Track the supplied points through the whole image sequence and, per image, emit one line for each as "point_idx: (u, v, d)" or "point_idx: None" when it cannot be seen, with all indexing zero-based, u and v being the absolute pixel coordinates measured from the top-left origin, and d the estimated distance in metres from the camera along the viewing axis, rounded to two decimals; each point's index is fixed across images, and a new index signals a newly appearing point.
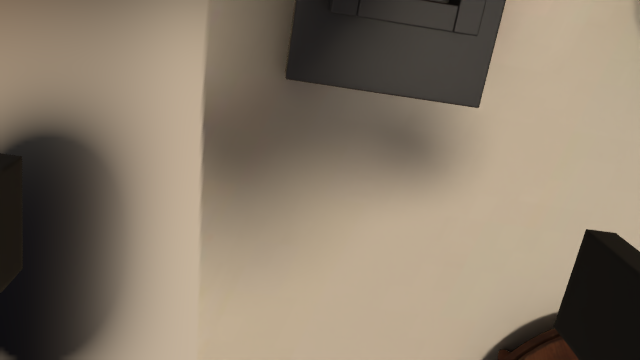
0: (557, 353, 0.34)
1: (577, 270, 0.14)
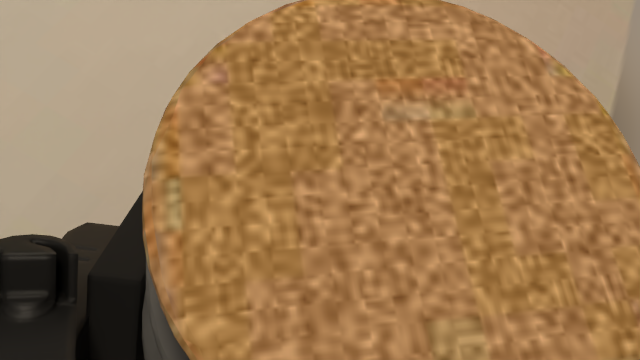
0: None
1: None
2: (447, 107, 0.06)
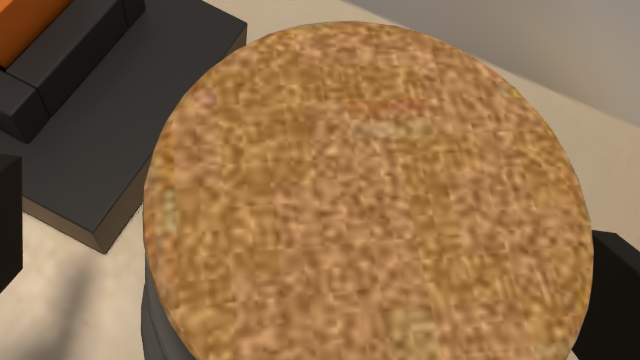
0: None
1: None
2: (408, 125, 0.06)
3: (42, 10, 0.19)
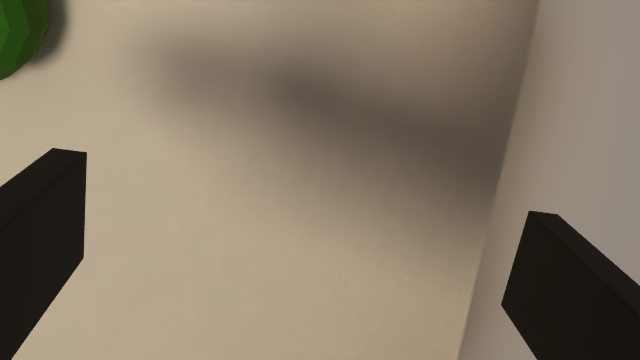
0: None
1: (521, 250, 0.15)
2: None
3: None
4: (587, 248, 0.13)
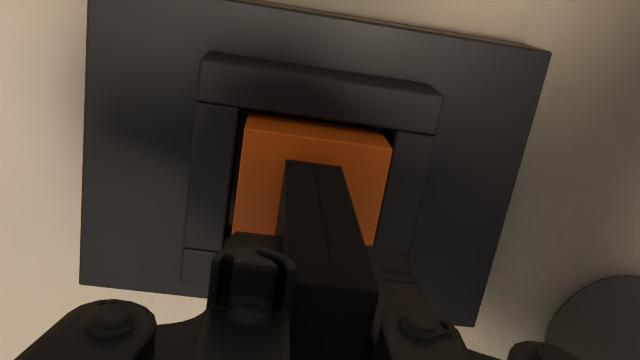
0: None
1: None
2: None
3: None
4: (338, 191, 0.13)
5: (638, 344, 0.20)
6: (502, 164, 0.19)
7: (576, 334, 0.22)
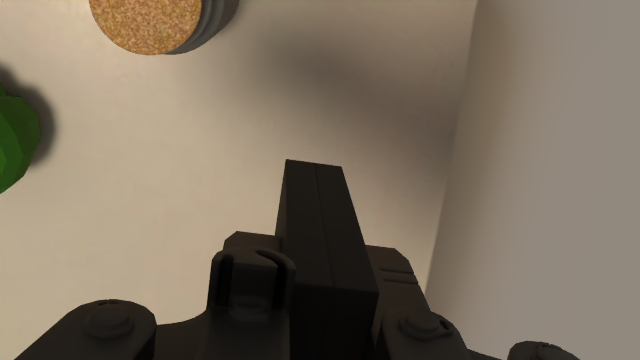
0: None
1: None
2: None
3: None
4: (339, 191, 0.13)
5: None
6: None
7: None
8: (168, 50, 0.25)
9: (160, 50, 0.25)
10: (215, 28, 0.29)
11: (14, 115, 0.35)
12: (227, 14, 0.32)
